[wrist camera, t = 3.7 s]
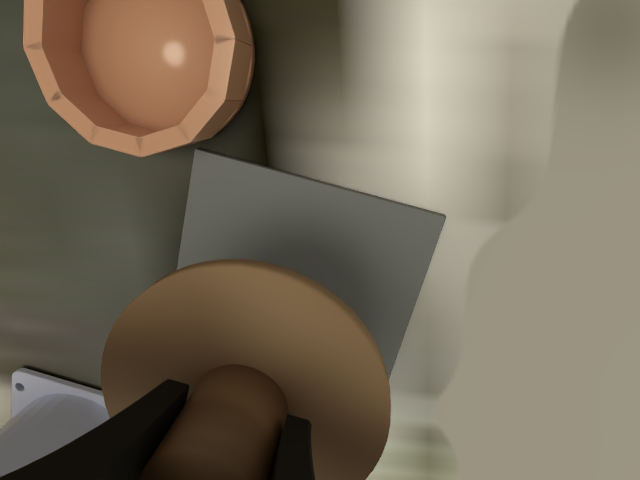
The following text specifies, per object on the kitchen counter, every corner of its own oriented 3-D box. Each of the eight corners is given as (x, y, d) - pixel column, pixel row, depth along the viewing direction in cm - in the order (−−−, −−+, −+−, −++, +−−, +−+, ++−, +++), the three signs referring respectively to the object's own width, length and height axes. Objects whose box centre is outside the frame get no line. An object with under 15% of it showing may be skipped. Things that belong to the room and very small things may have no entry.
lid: (358, 526, 15) (351, 672, 11) (112, 465, 15) (25, 584, 11) (421, 295, 12) (441, 384, 8) (116, 231, 12) (5, 287, 9)
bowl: (236, 165, 19) (212, 176, 16) (73, 121, 19) (21, 124, 17) (272, -29, 17) (251, -55, 14) (85, -75, 17) (26, -111, 14)
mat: (372, 418, 22) (372, 424, 22) (166, 358, 23) (162, 362, 22) (444, 214, 19) (446, 217, 18) (198, 148, 19) (194, 149, 19)
